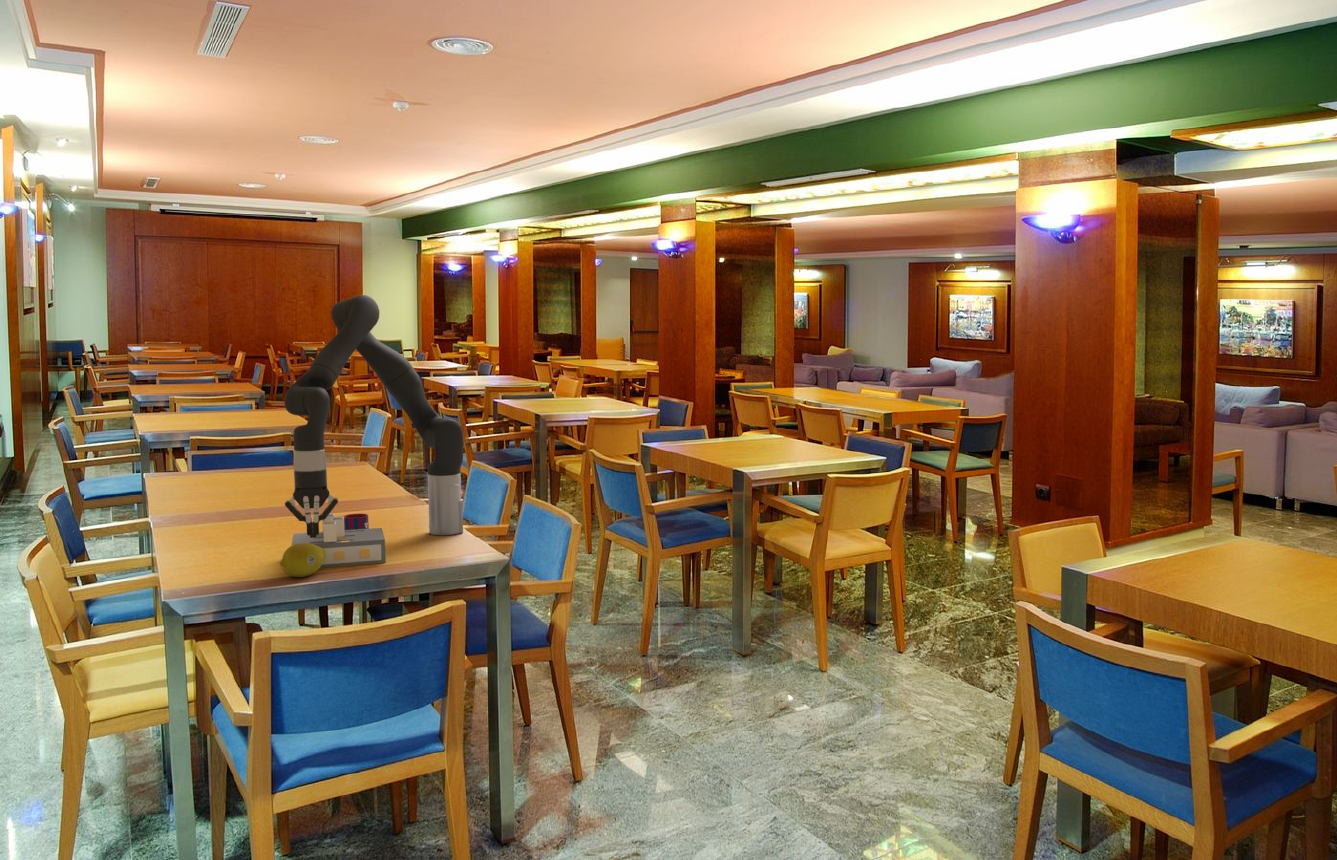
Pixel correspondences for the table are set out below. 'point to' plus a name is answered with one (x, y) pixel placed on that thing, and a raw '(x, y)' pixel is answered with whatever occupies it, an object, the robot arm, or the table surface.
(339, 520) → the slider mid
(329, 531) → the slider near
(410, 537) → the table surface
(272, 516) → the table surface
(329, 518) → the slider far
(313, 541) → the console
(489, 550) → the table surface
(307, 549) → the lemon
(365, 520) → the mug
